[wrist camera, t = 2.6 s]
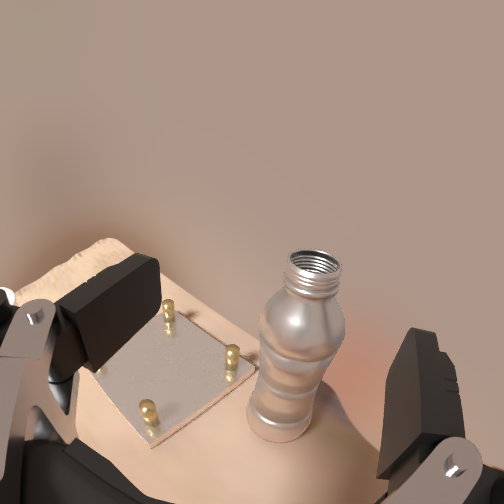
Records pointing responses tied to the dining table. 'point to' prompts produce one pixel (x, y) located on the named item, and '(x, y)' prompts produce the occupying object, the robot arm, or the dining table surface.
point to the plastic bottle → (296, 345)
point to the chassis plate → (169, 375)
